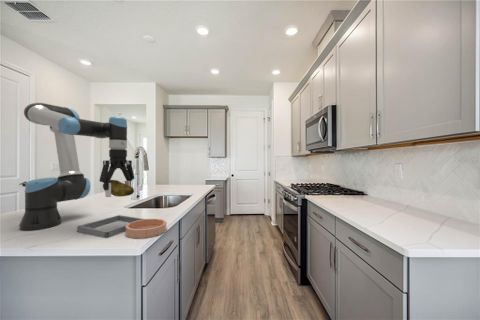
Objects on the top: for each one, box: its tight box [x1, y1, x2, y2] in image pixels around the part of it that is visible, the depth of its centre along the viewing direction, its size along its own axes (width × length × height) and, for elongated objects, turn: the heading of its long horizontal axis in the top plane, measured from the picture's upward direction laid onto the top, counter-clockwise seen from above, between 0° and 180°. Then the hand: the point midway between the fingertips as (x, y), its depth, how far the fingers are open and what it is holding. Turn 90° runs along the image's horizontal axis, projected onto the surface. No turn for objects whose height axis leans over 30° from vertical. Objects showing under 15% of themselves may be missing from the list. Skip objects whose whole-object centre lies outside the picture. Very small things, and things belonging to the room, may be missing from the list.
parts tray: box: [76, 214, 144, 239], centre depth 103 cm, size 19×21×2 cm
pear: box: [102, 179, 135, 198], centre depth 102 cm, size 8×13×8 cm, turn 85°
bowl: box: [124, 218, 167, 239], centre depth 98 cm, size 17×17×4 cm
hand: (118, 195), depth 102 cm, fingers closed on pear, 9 cm apart
